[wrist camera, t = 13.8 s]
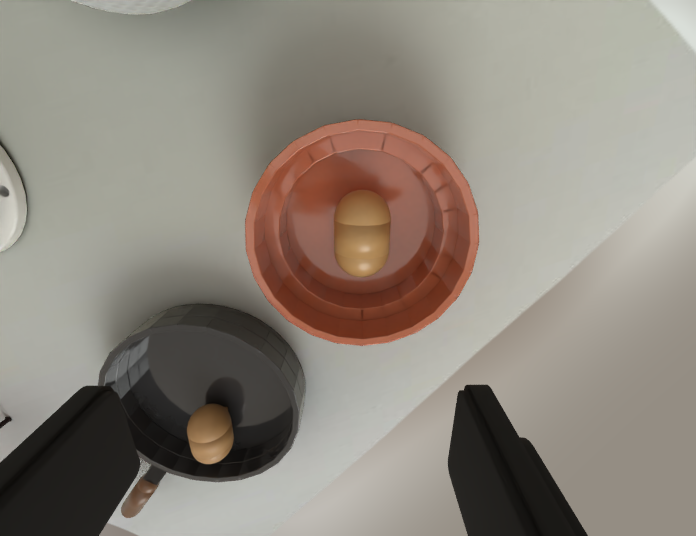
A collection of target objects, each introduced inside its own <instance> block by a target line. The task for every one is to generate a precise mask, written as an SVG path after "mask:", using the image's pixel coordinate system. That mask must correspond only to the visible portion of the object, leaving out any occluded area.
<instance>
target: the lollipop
mask: <svg viewBox="0 0 696 536" xmlns="http://www.w3.org/2000/svg"><path fill="white" fill-rule="evenodd" d="M10 421H11V418H9V417H5V419H4V420H3V421H2V422H1V423H0V428H2V427H3V426H4V425H5V424H6V423H8V422H10Z"/></svg>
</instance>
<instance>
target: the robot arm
mask: <svg viewBox="0 0 696 536" xmlns="http://www.w3.org/2000/svg"><path fill="white" fill-rule="evenodd" d="M26 215H27V203H26V195H25V191H24V188H23V184H22V181H21V178H20V176H19V174H18V172H17V170H16V168H15V166H14V164H13V162H12V161H11V159H10V158H9V156H8V155H7V153H6V152H5V150H4V149H3V148H2V147H1V145H0V252H2V251H4V250H7V249H8V248H9V247H10V246H12V245H13V244H14V243H15V242H16V241H17V239H18V238H19V237H20V235H21V234H22V231H23V229H24V226H25V223H26ZM139 468H140V459H139V456H138V453H137V450H136V447H135V444H134V441H133V438H132V435H131V432H130V429H129V426H128V422H127V419H126V416H125V413H124V410H123V407H122V404H121V401H120V398H119V395H118V393H117V392H115V391H114V390H113V388H112V387H110V386H85V387H83V388H81V389H80V390H78V391H77V392H76V393H75V394H74V395H73V396H72V397H71V398H70V399H69V400H68V401H67V402H66V403H64V404H63V405H62V406H61V407H60V408H59V409H58V410H57V411H56V412H55V413H54V414H53V415H51V416H50V417H49V418H48V419H47V420H46V421H45V422H44V423H43V424H42V425H41V426H40V427H38V428H37V429H36V430H35V431H34V432H33V433H32V434H31V435H30V436H29V437H28V438H27V439H25V440H24V441H23V442H22V443H21V444H20V445H19V446H18V447H17V448H16V449H15V450H14V451H12V452H11V453H10V454H9V455H8V456H7V457H6V458H5V459H4V460H3V461H2V462H1V463H0V536H99V534H100V533H101V531H102V530H103V528H104V526H105V525H106V523H107V522H108V520H109V519H110V517H111V516H112V514H113V512H114V511H115V509H116V508H117V506H118V504H119V503H120V501H121V500H122V498H123V497H124V495H125V493H126V492H127V490H128V489H129V487H130V485H131V484H132V482H133V481H134V479H135V478H136V476H137V474H138V471H139ZM448 469H449V474H450V478H451V481H452V485H453V488H454V491H455V495H456V498H457V501H458V504H459V508H460V511H461V514H462V517H463V521H464V524H465V527H466V531H467V534H468V536H588V535H587V534H586V532H585V530H584V529H583V527H582V525H581V524H580V522H579V521H578V519H577V517H576V516H575V514H574V512H573V511H572V509H571V507H570V506H569V504H568V502H567V501H566V499H565V497H564V496H563V494H562V492H561V491H560V489H559V487H558V486H557V484H556V483H555V481H554V479H553V478H552V476H551V474H550V473H549V471H548V469H547V468H546V466H545V464H544V463H543V461H542V459H541V458H540V456H539V455H538V453H537V451H536V450H535V448H534V447H533V445H532V444H531V442H530V441H529V440H527V439H526V438H519V436H518V435H517V433H516V431H515V429H514V428H513V426H512V424H511V422H510V420H509V419H508V417H507V415H506V414H505V412H504V410H503V408H502V407H501V405H500V403H499V402H498V400H497V398H496V396H495V395H494V393H493V391H492V389H491V388H490V387H489V386H488V385H466V386H465V388H464V390H462V391H459V392H458V396H457V403H456V409H455V416H454V424H453V430H452V437H451V443H450V450H449V457H448Z"/></svg>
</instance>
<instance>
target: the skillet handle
mask: <svg viewBox="0 0 696 536" xmlns="http://www.w3.org/2000/svg"><path fill="white" fill-rule="evenodd" d="M165 474H166V471H164V470H162V469H160V468H157V467H155V466H153V465H151V467H150V468H149V470H148V471H147V473H146V474H144V475H143V476H142V477H141V478H140V479H139V481H138V482H137V484H136V485H135V487H134V488H133V490H132V491H131V493H130V494H129V496H128V497H127V498H126V500H125V501H124V503H123V505H122V507H121V513H122V515H123V516H124V517H126V518H131V517H134V516H136V515H137V514H138V513H139V512H140V511H141V509H142V508H143V506H144V505H145V504H146V502H147V501H148V500H149V498H150V497H151V495H152V494H153V493H154V491H155V490H156V489H157V487H158V485H159V482H160V480H161V479H162V478H163V476H164V475H165Z"/></svg>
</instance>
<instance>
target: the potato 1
mask: <svg viewBox="0 0 696 536" xmlns="http://www.w3.org/2000/svg"><path fill="white" fill-rule="evenodd" d="M187 435H188V440H189V444H190V448H191V452H192V455H193V456H194V458H195V459H196V460H197V461H199V462H201V463H203V464H213V463H217V462H219V461H221V460H222V459H223V458H224V457H225V456H227V454H228V453H229V451H230V450H231V448H232V445H233V441H234V434H233V428H232V421H231V417H230V414H229V412H228V407H223V406H221V405H219V404H207V405H204V406H202V407H200V408H198V409H197V410H196V411H195V412H194V413H193V414H192V416H191V417H190V420H189V422H188V425H187Z"/></svg>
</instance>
